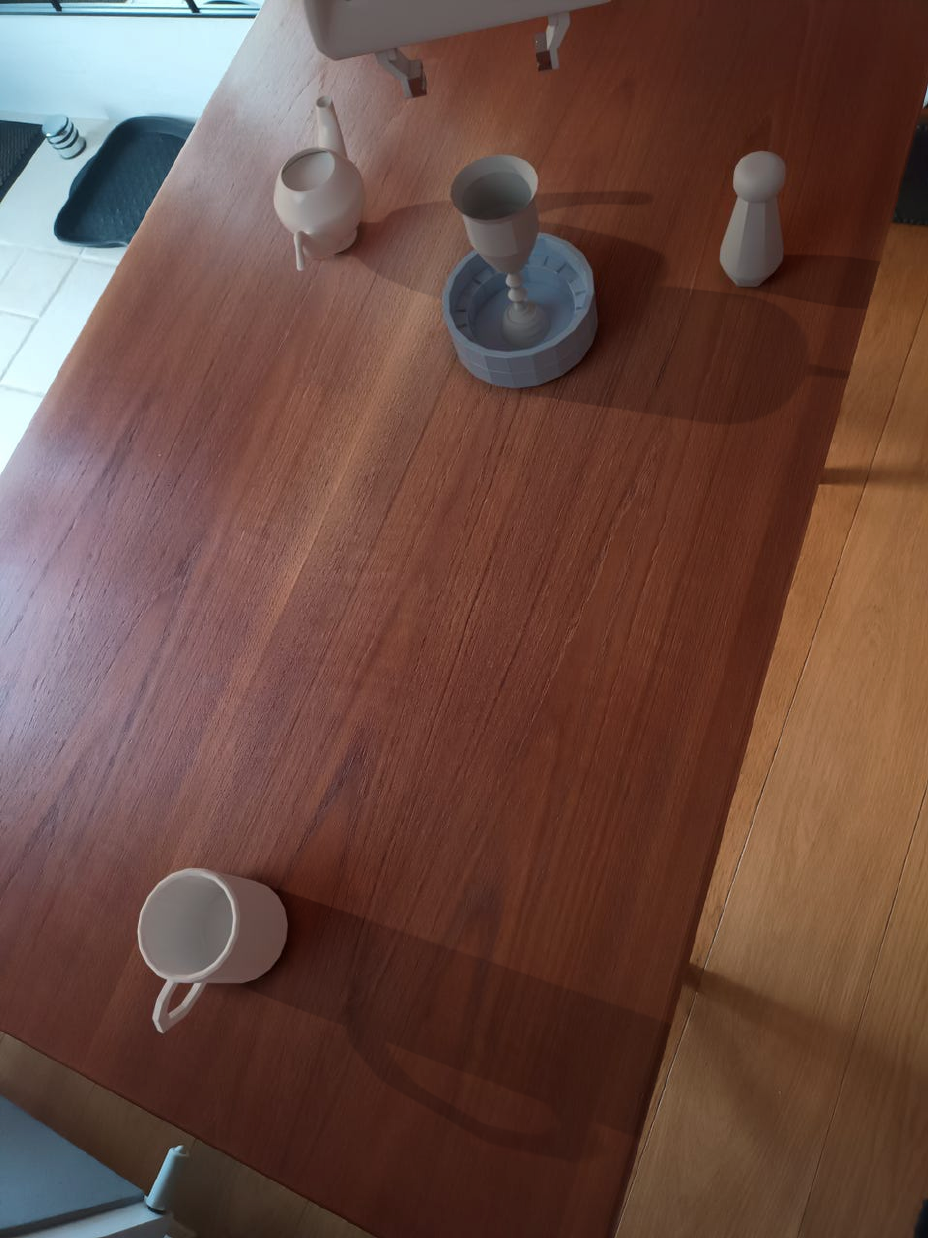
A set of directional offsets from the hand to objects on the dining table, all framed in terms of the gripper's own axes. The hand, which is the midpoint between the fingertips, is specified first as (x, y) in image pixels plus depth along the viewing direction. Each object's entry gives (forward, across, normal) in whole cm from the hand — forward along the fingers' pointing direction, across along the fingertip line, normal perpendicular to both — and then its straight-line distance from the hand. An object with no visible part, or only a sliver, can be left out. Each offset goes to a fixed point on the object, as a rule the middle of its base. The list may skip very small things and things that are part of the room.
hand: (482, 77), depth 67 cm
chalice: (+29, +1, -2) cm, 29 cm away
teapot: (+30, +22, -18) cm, 41 cm away
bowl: (+30, +2, -2) cm, 30 cm away
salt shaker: (+30, -20, -5) cm, 37 cm away
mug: (+30, +28, +57) cm, 70 cm away
